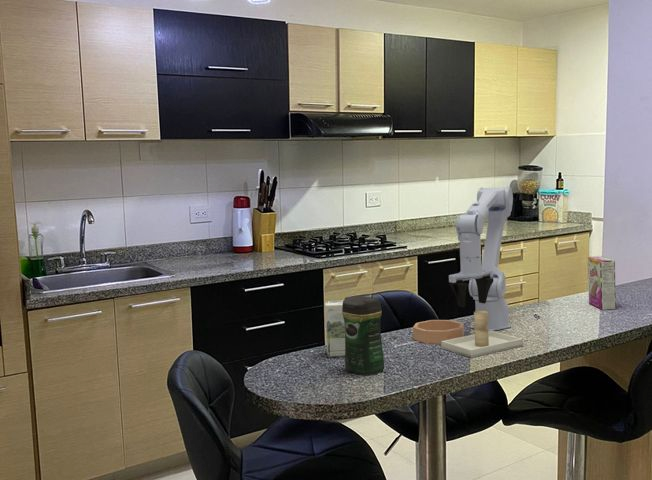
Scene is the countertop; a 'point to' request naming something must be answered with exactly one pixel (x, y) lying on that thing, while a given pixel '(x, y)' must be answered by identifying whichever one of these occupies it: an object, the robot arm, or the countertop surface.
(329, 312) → the syrup box
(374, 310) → the coffee jar
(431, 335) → the octagonal open frame
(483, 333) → the wooden pin
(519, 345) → the cream tray
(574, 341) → the countertop surface
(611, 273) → the candy bar box
